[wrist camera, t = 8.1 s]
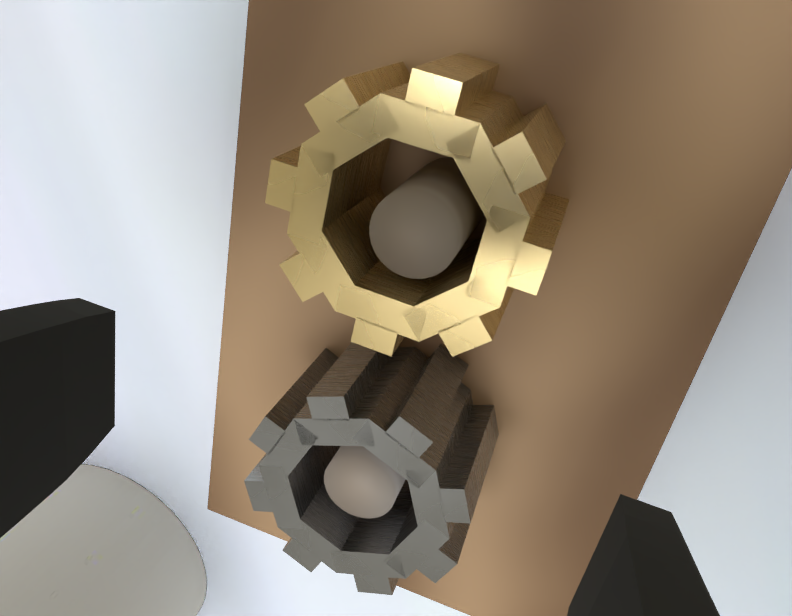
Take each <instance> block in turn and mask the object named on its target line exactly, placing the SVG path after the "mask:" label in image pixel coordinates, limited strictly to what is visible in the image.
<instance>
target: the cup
mask: <svg viewBox="0 0 792 616" xmlns="http://www.w3.org/2000/svg"><path fill="white" fill-rule="evenodd" d="M206 589H207V581H206V573H205V568H204V564H203V561H202V558H201V555H200V553H199V551H198V548H197V546H196V544H195V543H194V541H193V539H192V537H191V536H190V534H189V533H188V531H187V530H186V528H185V527H184V525H183V524H182V523H181V522H180V520H179V519H178V518H177V517H176V516H175V515H174V513H173V512H172V511H171V510H170V509H169V508H168V507H167V506H166V505H165V504H164V503H163V502H161V501H160V500H159V499H158V498H157V497H156V496H154V495H153V494H152V493H151V492H149V491H148V490H146V489H145V488H144V487H142V486H141V485H139V484H137V483H136V482H134V481H132V480H131V479H129V478H127V477H125V476H123V475H121V474H118V473H116V472H113V471H111V470H108V469H105V468H101V467H97V466H93V465H86V464H81V465H80V466H79V467H78V468H77V469H76V470H75V471H74V473H73V474H72V475H71V476H70V477H69V478H68V479H67V480H66V481H65V482H64V483H63V484H62V485H60V486H59V487H58V488H57V489H56V490H55V491H54V492H53V493H52V494H50V495H49V496H48V497H47V498H46V499H45V500H44V501H42V502H41V503H40V504H39V505H38V506H37V507H36V508H34V509H33V510H32V511H31V512H30V513H29V514H28V515H27V516H25V517H24V518H23V519H22V520H21V521H20V522H19V523H17V524H16V525H15V526H14V527H13V528H12V529H10V530H9V531H8V532H7V533H6V534H5V535H3V536H2V537H1V538H0V616H196V615H197V613H198V612H199V610H200V609H201V607H202V605H203V603H204V600H205V596H206Z"/></svg>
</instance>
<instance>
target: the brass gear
mask: <svg viewBox="0 0 792 616" xmlns="http://www.w3.org/2000/svg"><path fill="white" fill-rule="evenodd" d="M499 65H500V64H497V63H494V62H490V61H487V60H483V59H480V58H476V57H473V56H469V55H466V54H462V53H457V54H454V55H451V56H448V57H444V58H441V59H438V60H435V61H432V62H429V63H426V64H423V65H420V66H417V67H413V68H412V71H411V76H410V74H409V72H408V70H407V68H406V67H405V65H404V63H403V61H402V62H399V63H395V64H392V65H388V66H384V67H381V68H377V69H374V70H370V71H367V72H363V73H360V74H356V75H352V76H349V77H345V78H343V79H341V80H340V81H338V82H337V83H335V84H334V85H332V86H331V87H329V88H328V89H326V90H325V91H323V92H322V93H320V94H319V95H317V96H316V97H314V98H313V99H311V100H310V101H308V102H307V103H305V104H304V105H305V107H306V108H307V110H308V112H309V113H310V115H311V117H312V118H313V120H314V122H315V124H316V125H317V127H318V129H319V130H320V132H319V133H317V134H316V135H314V136H313V137H311V138H309V139H308V140H306V141H305V142H303V143H302V144H301V146H299V147H297V148H295V149H292V150H290V151H288V152H286V153H284V154H281V155H279V156H277V157H275V158H272V159H271V164H270V171H269V178H268V186H267V193H266V200H265V203H266V204H269V205H272V206H275V207H278V208H281V209H284V210H287V211H289V212H290V217H289V224H288V230H287V234H288V236H289V238H290V239H291V241H292V242H293V244H294V246H295V247H296V249H297V250H298V251H296V252H295V253H294V254H292V255H291V256H290V257H288V258H287V259H286V260H284V261H283V262H282V263H280V264H279V265H280V267H281V268H282V270H283V272H284V273H285V275H286V276H287V278H288V280H289V281H290V283H291V284H292V286H293V288H294V289H295V291H296V292H297V294H298V296H299V297H300V299H301V300H302V302H304V301H306V300H308V299H310V298H312V297H314V296H316V295H318V294H320V293H322V292H324V294H325V296H326V297H327V299H328V301H329V302H330V304H331V305H332V307H333V309H334V310H335V311H336V312H339V313H342V314H344V315H347V316H350V317H353V318H355V319H356V321H355V325H354V329H353V334H352V338H351V342H353V343H356V344H359V345H361V346H364V347H367V348H369V349H372V350H375V351H378V352H380V353H383V354H386V355H388V356H391V357H392V355H393V354H394V352H395V351H396V349H397V348H398V346H399V345H400V343H401V342H402V340H403V339H404V338H405V337H407V338H410V339H413V340H416V341H418V342H420V341H422V340H424V339H427V338H429V337H431V336H434V335H436V334H438V333H439V335H440V337H441V338H442V340H443V342H444V344H445V345H446V347H447V349H448V350H449V352H450V354H451V356H452V357H453V356H455V355H458V354H460V353H463V352H465V351H468V350H470V349H473V348H475V347H478V346H480V345H483V344H485V343H488V342H490V341H492V340H493V338H494V335H495V333H496V331H497V328H498V326H499V324H500V321H501V319H502V316H503V314H504V312H505V309H506V307H507V305H508V302H509V300H510V298H511V295H512V293H513V291H514V288H515V289H518V290H521V291H524V292H527V293H530V294H533V295H537V292H538V289H539V287H540V284H541V281H542V278H543V276H544V273H545V270H546V267H547V265H548V262H549V259H550V256H551V253H552V251H553V248H554V245H555V242H556V239H557V236H558V233H559V230H560V227H561V224H562V221H563V218H564V215H565V212H566V209H567V206H568V203H569V199H566V198H563V197H559V196H556V195H553V194H550V193H547V192H546V189H547V186H548V183H549V180H550V177H551V174H552V171H551V170H552V168H553V166H554V164H555V162H556V160H557V158H558V156H559V154H560V152H561V150H562V148H563V146H564V144H565V142H566V140H565V138H564V136H563V134H562V132H561V131H560V129H559V127H558V125H557V123H556V121H555V119H554V117H553V115H552V113H551V111H550V109H549V107H548V105H547V103H546V104H544V105H542V106H540V107H539V108H537V109H535V110H533V111H531V112H530V113H528V114H526V115H524V116H523V115H522V113H521V111H520V109H519V107H518V105H517V103H516V101H515V99H514V97H513V96H510V95H506V94H503V93H499V92H496V91H492V90H493V87H494V83H495V80H496V76H497V73H498V69H499ZM391 139H394V140H397V141H400V142H403V143H407V144H410V145H413V146H416V147H419V148H423V149H426V150H429V151H432V152H436V153H439V154H442V155H445V156H448V157H452V158H454V160H455V162H456V164H457V166H458V168H459V169H460V171H461V173H462V175H463V177H464V179H465V180H466V182H467V184H468V186H469V188H470V190H471V191H472V193H473V195H474V197H475V199H476V200H477V202H478V204H479V206H480V208H481V210H482V211H483V213H484V215H485V217H486V219H487V223H486V226H485V229H484V232H483V236H481V237H479V238H476V239H474V240H472V241H470V242H468V243H466V244H464V245H463V246H462V248H461V249H460V250H459V252H458V253H457V255H456V256H455V258H454V259H453V260H452V262H451V263H450V264H449V266H448V267H447V268H446V269H444V270H443V271H442V272H440V273H439V274H437V275H435V276H432V277H429V278H424V279H412V278H407V277H403V276H401V275H398V274H396V273H394V272H393V271H391V270H390V269H388V268H387V267H386V266H385V265H384V264H383V263H382V262H381V261H380V259H379V258H378V257H377V255H376V253H375V251H374V249H373V247H372V244H371V240H370V234H369V227H370V220H371V217H372V214H373V212H374V210H375V208H376V207H377V205H378V204H379V203H380V202H381V201H382V200H383V199H384V198H385V197H386V196H385V194H384V193H383V191H382V189H381V183H382V178H383V174H384V169H385V165H386V160H387V156H388V151H389V147H390V142H391Z"/></svg>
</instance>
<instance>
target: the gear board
mask: <svg viewBox="0 0 792 616" xmlns="http://www.w3.org/2000/svg"><path fill="white" fill-rule="evenodd" d="M457 53H462V54H466V55H469V56H473V57H476V58H480V59H483V60H487V61H490V62H494V63H497V64H500V65H499V69H498V73H497V76H496V80H495V83H494V87H493V90H492V91H496V92H499V93H503V94H506V95H510V96H513V97H514V99H515V101H516V103H517V105H518V107H519V109H520V111H521V113H522V115H523V116H524V115H526V114H528V113H530V112H531V111H533V110H535V109H537V108H539V107H540V106H542V105H544V104H546V103H547V105H548V107H549V109H550V111H551V113H552V115H553V117H554V119H555V121H556V123H557V125H558V127H559V129H560V131H561V132H562V134H563V136H564V138H565V140H566V142H565V144H564V146H563V148H562V150H561V152H560V154H559V156H558V158H557V160H556V162H555V164H554V166H553V168H552V170H551V171H552V174H551V177H550V180H549V183H548V186H547V189H546V192H547V193H550V194H553V195H556V196H559V197H563V198H566V199H569V203H568V206H567V209H566V212H565V215H564V218H563V221H562V224H561V227H560V230H559V233H558V236H557V239H556V242H555V245H554V248H553V251H552V253H551V256H550V259H549V262H548V265H547V267H546V270H545V273H544V276H543V278H542V281H541V284H540V287H539V289H538V292H537V295H533V294H530V293H527V292H524V291H521V290H518V289H515V288H514V291H513V293H512V295H511V298H510V300H509V302H508V305H507V307H506V309H505V312H504V314H503V316H502V319H501V321H500V324H499V326H498V328H497V331H496V333H495V335H494V338H493V340H492V341H490V342H488V343H485V344H483V345H480V346H478V347H475V348H473V349H470V350H468V351H465V352H463V353H460V354H458V355H457V356H458V357H459V358H460V359H462V360H463V361H464V362H466V363H467V364H468V365H469V366H468V368H467V370H466V372H465V374H464V377H463V379H462V381H461V383H463V384H464V385H465V386H467V387H468V388H469V389H470V390H471V395H472V401H473V405H494V408H495V414H496V421H497V427H498V434H499V435H498V439H497V442H496V445H495V448H494V451H493V454H492V457H491V461H490V464H489V467H488V470H487V473H486V476H485V479H484V483H483V486H482V489H481V492H480V495H479V498H478V501H477V505H476V508H475V511H474V514H473V517H472V520H471V523H470V526H469V529H468V532H467V535H466V538H465V542H464V545H463V548H462V551H461V554H460V557H459V560H458V564H457V565H456V566H455V567H453V568H452V569H451V570H450V571H449V572H448V573H447V574H446V575H444V576H443V577H442V578H441V579H440V580H439V581H438V582H436V583H434V582H433V581H431V580H430V579H429V578H427V577H426V576H425V575H423V574H422V573H421V572H420V571H418V570H417V569H416V570H415V571H414V572H413V573H412V574H411V575H410V576H409V577H407V578H406V579H402V578H399V580H398V582H397V584H396V585H397V586H399V587H402V588H404V589H406V590H409V591H411V592H414V593H416V594H419V595H421V596H424V597H426V598H429V599H431V600H434V601H436V602H439V603H441V604H444V605H446V606H449V607H451V608H453V609H456V610H458V611H461V612H463V613H466V614H468V615H471V616H567V614H568V608H569V606H570V603H571V601H572V599H573V597H574V595H575V592H576V590H577V588H578V586H579V584H580V582H581V579H582V577H583V575H584V573H585V571H586V568H587V566H588V564H589V562H590V560H591V557H592V555H593V553H594V551H595V549H596V547H597V544H598V542H599V540H600V538H601V536H602V533H603V531H604V529H605V527H606V525H607V523H608V520H609V518H610V516H611V514H612V512H613V509H614V507H615V505H616V503H617V501H618V498H619V496H620V494H622V495H625V496H628V497H630V498H633V499H636V500H637V498H638V496H639V494H640V492H641V490H642V488H643V485H644V483H645V481H646V479H647V477H648V475H649V473H650V470H651V468H652V466H653V464H654V462H655V460H656V458H657V455H658V453H659V451H660V449H661V447H662V445H663V443H664V440H665V438H666V436H667V434H668V432H669V430H670V428H671V425H672V423H673V421H674V419H675V417H676V415H677V412H678V410H679V408H680V406H681V404H682V402H683V400H684V397H685V395H686V393H687V391H688V389H689V387H690V385H691V382H692V380H693V378H694V376H695V374H696V372H697V370H698V367H699V365H700V363H701V361H702V359H703V357H704V355H705V352H706V350H707V348H708V346H709V344H710V342H711V340H712V337H713V335H714V333H715V331H716V329H717V327H718V325H719V322H720V320H721V318H722V316H723V314H724V312H725V310H726V307H727V305H728V303H729V301H730V299H731V297H732V295H733V292H734V290H735V288H736V286H737V284H738V282H739V280H740V277H741V275H742V273H743V271H744V269H745V267H746V265H747V262H748V260H749V258H750V256H751V254H752V252H753V250H754V247H755V245H756V243H757V241H758V239H759V237H760V235H761V232H762V230H763V228H764V226H765V224H766V222H767V220H768V217H769V215H770V213H771V211H772V209H773V207H774V205H775V202H776V200H777V198H778V196H779V194H780V192H781V190H782V187H783V185H784V183H785V181H786V179H787V177H788V175H789V172H790V170H791V168H792V0H249V6H248V18H247V30H246V43H245V55H244V67H243V79H242V92H241V104H240V116H239V129H238V141H237V153H236V165H235V178H234V190H233V202H232V215H231V227H230V239H229V252H228V264H227V276H226V288H225V301H224V313H223V325H222V338H221V350H220V362H219V375H218V387H217V399H216V411H215V424H214V436H213V448H212V461H211V473H210V485H209V497H208V509H209V510H211V511H214V512H216V513H219V514H221V515H224V516H226V517H229V518H231V519H234V520H236V521H238V522H241V523H243V524H246V525H248V526H251V527H253V528H256V529H258V530H261V531H263V532H266V533H268V534H271V535H273V536H276V537H278V538H280V539H283V540H285V541H289V539H290V538H291V537H290V536H288V535H287V534H286V533H284V532H283V531H282V530H280V529H279V528H278V527H277V523H276V520H275V517H274V514H273V512H262V511H253V508H252V504H251V501H250V498H249V495H248V492H247V489H246V485H245V482H244V480H245V479H246V478H247V476H248V475H249V474H250V473H251V471H252V470H253V469H254V468H255V467H256V465H257V464H258V463H259V462H260V460H261V459H262V458H263V457H264V455H265V454H266V453H265V452H264V451H263V450H261V449H260V448H259V447H257V446H256V445H255V444H254V443H252V442H251V441H250V440H249V438H250V437H251V436H252V434H253V433H254V431H255V430H256V429H257V427H258V426H259V424H260V423H261V421H262V420H263V419H264V417H265V416H266V415H267V414H268V413H269V411H270V410H271V409H272V408H273V407H274V406H275V405H276V404H277V402H278V401H279V400H280V399H281V398H282V397H283V396H284V394H285V393H286V392H287V391H288V390H289V389H290V388H291V387H292V385H293V384H294V383H295V382H296V381H297V380H298V379H299V378H300V376H301V375H302V374H303V373H304V372H305V371H306V370H307V369H308V367H309V366H310V365H311V364H312V363H313V362H314V361H315V360H316V358H317V357H318V356H319V355H320V354H321V353H322V352H323V350H324V349H325V348H327V349H328V350H330V351H331V352H332V353H333V354H335V355H336V356H337V357H340V356H341V354H342V353H343V352H344V351H345V350H346V348H347V347H348V346H349V345H350V344H351V338H352V334H353V329H354V325H355V321H356V319H355V318H353V317H350V316H347V315H344V314H342V313H339V312H336V311H335V310H334V309H333V307H332V305H331V304H330V302H329V301H328V299H327V297H326V296H325V294H324V292H322V293H320V294H318V295H316V296H314V297H312V298H310V299H308V300H306V301H304V302H302V300H301V299H300V297H299V296H298V294H297V292H296V291H295V289H294V288H293V286H292V284H291V283H290V281H289V280H288V278H287V276H286V275H285V273H284V272H283V270H282V268H281V267H280V265H279V264H280V263H282V262H283V261H284V260H286V259H287V258H288V257H290V256H291V255H292V254H294V253H295V252H296V251H298V250H297V249H296V247H295V246H294V244H293V242H292V241H291V239H290V238H289V236H288V234H287V230H288V224H289V217H290V212H289V211H287V210H284V209H281V208H278V207H275V206H272V205H269V204H266V203H265V200H266V193H267V186H268V178H269V171H270V164H271V159H272V158H275V157H277V156H279V155H281V154H284V153H286V152H288V151H290V150H292V149H295V148H297V147H299V146H301V144H302V143H303V142H305V141H306V140H308V139H309V138H311V137H313V136H314V135H316V134H317V133H319V132H320V130H319V129H318V127H317V125H316V124H315V122H314V120H313V118H312V117H311V115H310V113H309V112H308V110H307V108H306V107H305V105H304V104H305V103H307V102H308V101H310V100H311V99H313V98H314V97H316V96H317V95H319V94H320V93H322V92H323V91H325V90H326V89H328V88H329V87H331V86H332V85H334V84H335V83H337V82H338V81H340V80H341V79H343V78H345V77H349V76H352V75H356V74H360V73H363V72H367V71H370V70H374V69H377V68H381V67H384V66H388V65H392V64H395V63H399V62H402V61H403V63H404V65H405V67H406V68H407V70H408V72H409V74H410V76H411V71H412V68H413V67H417V66H420V65H423V64H426V63H429V62H432V61H435V60H438V59H441V58H444V57H448V56H451V55H454V54H457ZM381 189H382V191H383V193H384V194H385V196H386V197H385V198H384V199H383V200H382V201H381V202H380V203H379V204H378V205H377V207H376V208H375V210H374V212H373V214H372V217H371V220H370V227H369V234H370V240H371V244H372V247H373V249H374V251H375V253H376V255H377V257H378V258H379V259H380V261H381V262H382V263H383V264H384V265H385V266H386V267H387V268H388V269H390V270H391V271H393V272H394V273H396V274H398V275H401V276H403V277H407V278H412V279H424V278H429V277H432V276H435V275H437V274H439V273H440V272H442V271H443V270H444V269H446V268H447V267H448V266H449V264H450V263H451V262H452V260H453V259H454V258H455V256H456V255H457V253H458V252H459V250H460V249H461V248H462V246H463V245H464V244H466V243H468V242H470V241H472V240H474V239H476V238H479V237H481V236H483V232H484V229H485V226H486V223H487V219H486V217H485V215H484V213H483V211H482V210H481V208H480V206H479V204H478V202H477V200H476V199H475V197H474V195H473V193H472V191H471V190H470V188H469V186H468V184H467V182H466V180H465V179H464V177H463V175H462V173H461V171H460V169H459V168H458V166H457V164H456V162H455V160H454V158H452V157H448V156H445V155H442V154H439V153H436V152H432V151H429V150H426V149H423V148H419V147H416V146H413V145H410V144H407V143H403V142H400V141H397V140H394V139H391V142H390V147H389V151H388V156H387V160H386V165H385V169H384V174H383V178H382V183H381ZM440 344H442V345H444V346H445V347H446V345H445V344H444V342H443V340H442V338H441V337H440V335H439V333H438V334H436V335H434V336H431V337H429V338H427V339H424V340H422V341H420V342H418V341H416V340H413V339H410V338H407V337H405V338H404V339H403V340H402V342H401V343H400V345H399V346H398V347H416V348H417V349H419V350H420V351H421V352H422V353H424V354H425V355H426V356H428V357H430V356H431V354H432V353H433V352H434V351H435V350H436V348H437V347H438V346H439V345H440ZM446 348H447V347H446ZM404 482H405V478H404V477H402V476H401V475H400V474H398V473H397V472H396V471H394V470H393V469H392V468H391V467H389V466H388V465H387V464H385V463H384V462H383V461H381V460H380V459H379V458H378V457H376V456H375V455H374V454H372V453H371V452H370V451H369V450H367V449H366V448H365V447H363V446H341V447H340V448H339V450H338V451H337V453H336V454H335V456H334V457H333V459H332V460H331V462H330V463H329V465H328V466H327V468H326V470H325V473H324V484H325V488H326V491H327V493H328V495H329V496H330V498H331V499H332V500H333V502H334V503H335V504H336V505H337V506H338V507H340V508H341V509H342V510H344V511H345V512H347V513H349V514H351V515H354V516H357V517H361V518H377V517H380V516H383V515H384V514H386V513H387V512H388V511H389V510H390V509H391V508H392V506H393V504H394V502H395V500H396V498H397V496H398V494H399V492H400V490H401V488H402V486H403V484H404Z"/></svg>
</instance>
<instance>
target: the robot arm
mask: <svg viewBox="0 0 792 616" xmlns="http://www.w3.org/2000/svg"><path fill="white" fill-rule="evenodd" d="M114 426H115V311H113V310H111V309H108V308H105V307H102V306H100V305H97V304H94V303H91V302H89V301H86V300H83V299H80V298H76V299H67V300H58V301H51V302H45V303H39V304H33V305H28V306H23V307H17V308H12V309H7V310H2V311H0V538H1V537H2V536H3V535H5V534H6V533H7V532H8V531H9V530H10V529H12V528H13V527H14V526H15V525H16V524H17V523H19V522H20V521H21V520H22V519H23V518H24V517H25V516H27V515H28V514H29V513H30V512H31V511H32V510H33V509H34V508H36V507H37V506H38V505H39V504H40V503H41V502H42V501H44V500H45V499H46V498H47V497H48V496H49V495H50V494H52V493H53V492H54V491H55V490H56V489H57V488H58V487H59V486H60V485H62V484H63V483H64V482H65V481H66V480H67V479H68V478H69V477H70V476H71V475H72V474H73V473H74V471H75V470H76V469H77V468H78V467H79V466H80V465H81V464H82V463H83V462H84V461H85V460H86V458H87V457H88V456H89V455H90V454H91V453H92V452H93V450H94V449H95V448H96V447H97V446H98V445H99V443H100V442H101V441H102V440H103V439H104V438H105V436H106V435H107V434H108V433H109V432H110V431H111V429H112V428H113V427H114ZM567 616H720V615H719V613H718V611H717V609H716V607H715V605H714V603H713V600H712V598H711V596H710V594H709V592H708V590H707V588H706V586H705V583H704V581H703V579H702V577H701V575H700V573H699V570H698V568H697V566H696V564H695V562H694V560H693V557H692V555H691V553H690V551H689V549H688V546H687V544H686V542H685V540H684V538H683V536H682V533H681V531H680V529H679V527H678V525H677V523H676V521H675V519H674V517H673V515H672V513H671V512H669V511H666V510H663V509H661V508H658V507H655V506H652V505H650V504H647V503H644V502H641V501H639V500H636V499H633V498H630V497H628V496H625V495H622V494H620V496H619V498H618V501H617V503H616V505H615V507H614V509H613V512H612V514H611V516H610V518H609V520H608V523H607V525H606V527H605V529H604V531H603V533H602V536H601V538H600V540H599V542H598V544H597V547H596V549H595V551H594V553H593V555H592V557H591V560H590V562H589V564H588V566H587V568H586V571H585V573H584V575H583V577H582V579H581V582H580V584H579V586H578V588H577V590H576V592H575V595H574V597H573V599H572V601H571V603H570V606H569V608H568V614H567Z"/></svg>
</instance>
